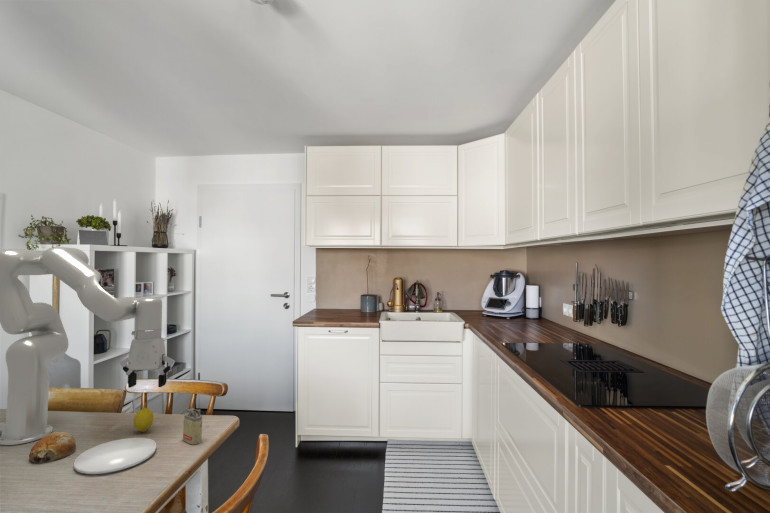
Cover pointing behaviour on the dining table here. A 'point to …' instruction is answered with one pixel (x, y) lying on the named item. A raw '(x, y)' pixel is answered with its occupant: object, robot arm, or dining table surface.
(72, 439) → the bread roll
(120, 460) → the plate
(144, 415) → the lemon
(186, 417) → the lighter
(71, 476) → the dining table surface
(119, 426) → the dining table surface
